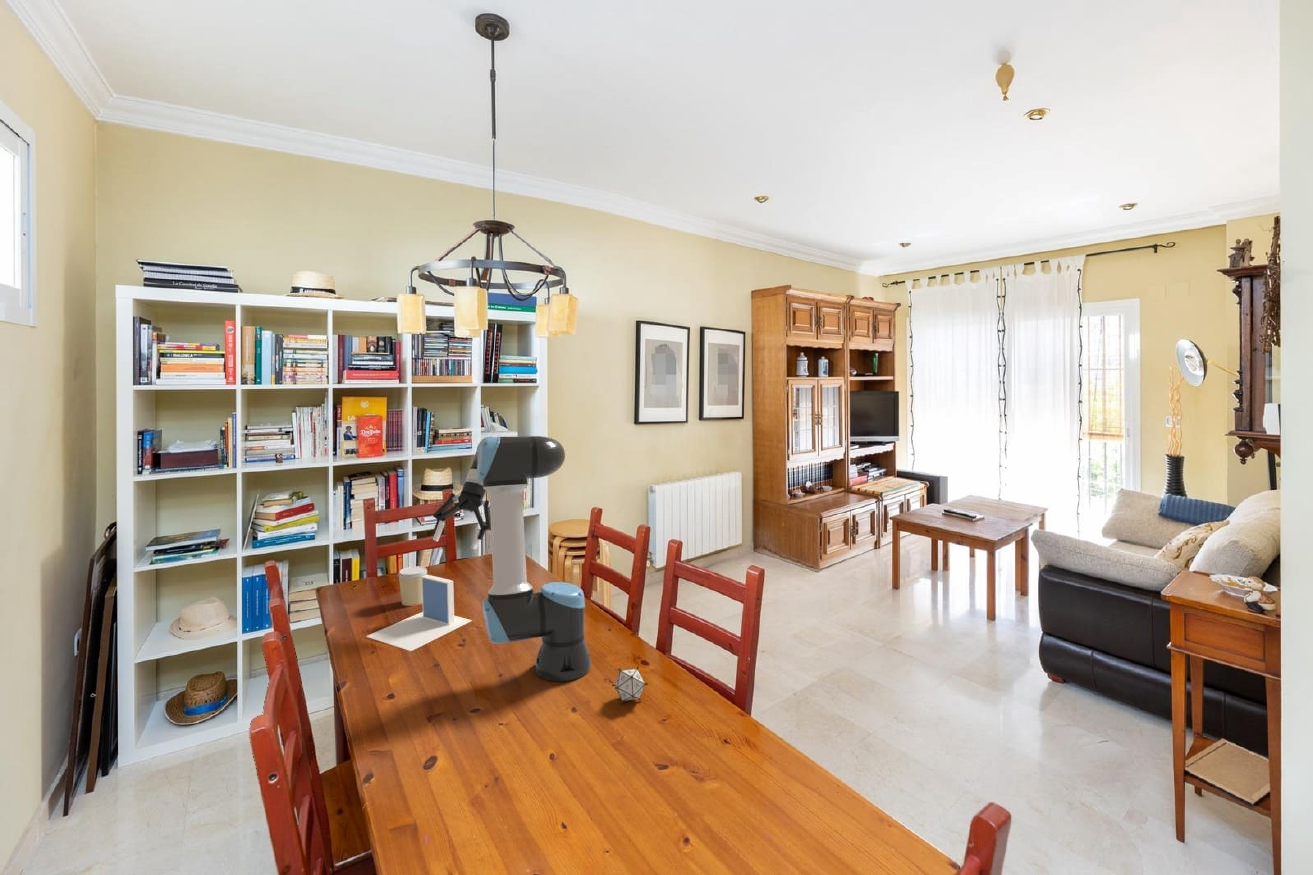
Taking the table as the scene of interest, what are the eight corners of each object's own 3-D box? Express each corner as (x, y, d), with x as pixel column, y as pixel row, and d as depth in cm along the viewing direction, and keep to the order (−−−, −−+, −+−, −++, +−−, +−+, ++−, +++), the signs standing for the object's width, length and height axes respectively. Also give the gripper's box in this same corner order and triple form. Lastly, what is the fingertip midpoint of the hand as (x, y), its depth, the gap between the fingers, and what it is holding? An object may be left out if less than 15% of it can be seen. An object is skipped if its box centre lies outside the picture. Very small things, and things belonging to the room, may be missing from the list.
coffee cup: (433, 601, 203) (432, 569, 202) (410, 610, 196) (409, 576, 194) (417, 596, 208) (416, 564, 207) (393, 604, 201) (392, 571, 199)
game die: (621, 714, 142) (598, 680, 143) (644, 691, 148) (622, 658, 149) (637, 713, 135) (613, 677, 136) (661, 688, 141) (637, 654, 142)
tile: (454, 622, 185) (453, 580, 183) (448, 625, 183) (447, 582, 181) (428, 615, 190) (427, 574, 189) (422, 617, 188) (421, 576, 187)
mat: (472, 622, 187) (472, 620, 187) (411, 653, 165) (411, 651, 165) (429, 610, 196) (429, 608, 196) (365, 638, 174) (365, 636, 174)
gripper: (513, 495, 197) (493, 554, 189) (446, 481, 201) (424, 539, 192) (507, 487, 190) (486, 549, 182) (438, 474, 194) (414, 534, 185)
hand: (454, 544), depth 187 cm, fingers open, 13 cm apart
